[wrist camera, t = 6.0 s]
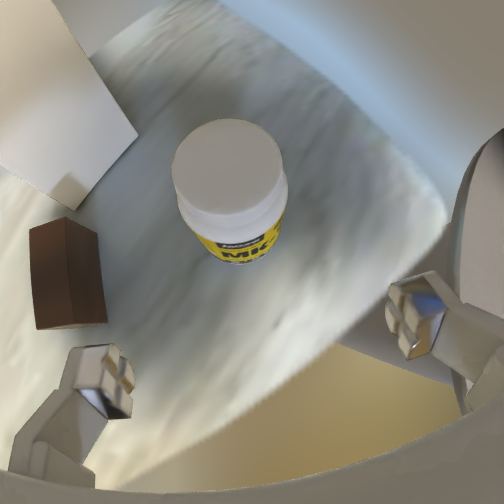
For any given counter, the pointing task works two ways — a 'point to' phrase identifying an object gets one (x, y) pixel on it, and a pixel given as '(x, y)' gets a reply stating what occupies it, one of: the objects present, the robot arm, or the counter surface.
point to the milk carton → (54, 106)
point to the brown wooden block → (66, 276)
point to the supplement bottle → (231, 188)
